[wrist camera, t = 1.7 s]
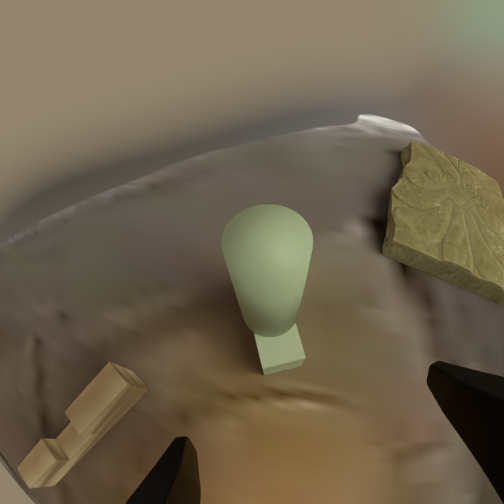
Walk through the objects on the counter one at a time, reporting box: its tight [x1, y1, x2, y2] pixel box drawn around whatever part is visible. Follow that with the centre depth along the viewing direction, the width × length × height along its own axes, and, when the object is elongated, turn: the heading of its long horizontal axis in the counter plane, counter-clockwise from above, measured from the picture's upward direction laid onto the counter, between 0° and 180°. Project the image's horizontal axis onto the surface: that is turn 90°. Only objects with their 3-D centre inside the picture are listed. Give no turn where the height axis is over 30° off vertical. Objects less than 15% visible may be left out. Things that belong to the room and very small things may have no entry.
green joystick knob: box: [221, 204, 313, 375], centre depth 18 cm, size 8×4×13 cm, turn 13°
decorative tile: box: [382, 142, 504, 305], centre depth 27 cm, size 19×20×4 cm
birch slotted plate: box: [17, 362, 149, 488], centre depth 16 cm, size 2×18×4 cm, turn 141°
